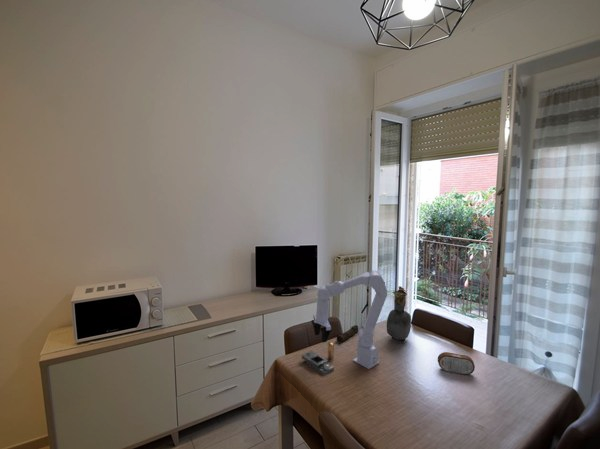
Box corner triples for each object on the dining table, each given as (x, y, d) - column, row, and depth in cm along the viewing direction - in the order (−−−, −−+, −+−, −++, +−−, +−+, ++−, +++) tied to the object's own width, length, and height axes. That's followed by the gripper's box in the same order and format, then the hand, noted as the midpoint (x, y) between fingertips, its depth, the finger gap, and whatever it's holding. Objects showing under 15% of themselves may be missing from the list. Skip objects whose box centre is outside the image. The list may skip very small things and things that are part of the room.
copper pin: (335, 359, 146) (335, 343, 145) (330, 361, 144) (331, 345, 144) (330, 356, 148) (330, 341, 148) (326, 358, 147) (326, 343, 146)
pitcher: (384, 342, 163) (386, 289, 160) (394, 330, 179) (396, 281, 176) (404, 348, 157) (407, 293, 154) (413, 334, 173) (415, 284, 170)
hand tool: (341, 344, 162) (342, 336, 161) (336, 341, 164) (336, 333, 164) (361, 333, 175) (362, 325, 174) (356, 331, 178) (356, 323, 177)
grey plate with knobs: (333, 370, 137) (334, 363, 137) (323, 375, 133) (323, 369, 132) (311, 356, 148) (311, 350, 148) (301, 361, 144) (301, 355, 144)
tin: (473, 373, 135) (474, 355, 135) (474, 377, 132) (476, 359, 132) (437, 367, 140) (437, 350, 140) (437, 370, 137) (438, 353, 137)
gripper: (308, 306, 150) (306, 332, 151) (322, 318, 137) (320, 346, 138) (320, 305, 153) (319, 330, 154) (335, 316, 140) (333, 344, 141)
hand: (320, 338), depth 146 cm, fingers open, 7 cm apart
